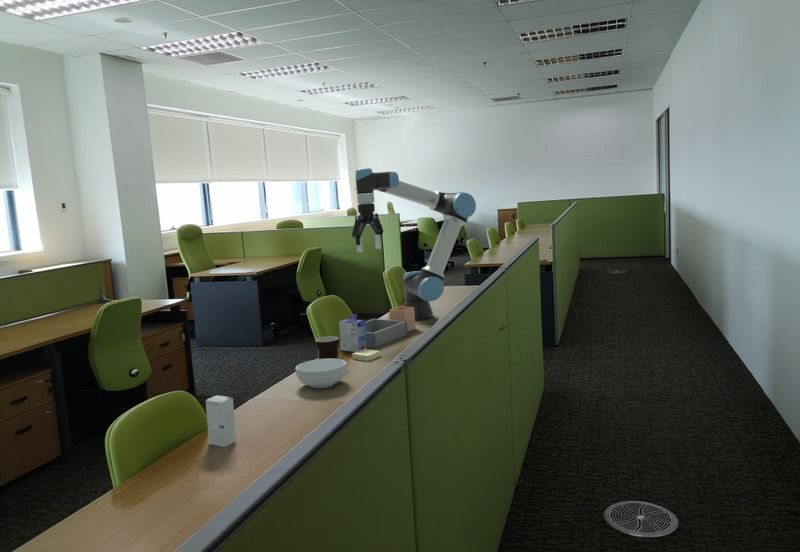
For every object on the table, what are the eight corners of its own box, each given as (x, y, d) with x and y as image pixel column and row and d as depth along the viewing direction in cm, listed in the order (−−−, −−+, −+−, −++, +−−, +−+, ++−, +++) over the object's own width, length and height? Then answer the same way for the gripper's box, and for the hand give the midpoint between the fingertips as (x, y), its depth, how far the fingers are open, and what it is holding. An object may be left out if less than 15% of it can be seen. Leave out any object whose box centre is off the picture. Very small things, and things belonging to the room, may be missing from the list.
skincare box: (208, 444, 163) (203, 400, 161) (220, 438, 166) (216, 394, 165) (225, 447, 160) (220, 402, 158) (238, 441, 163) (233, 397, 162)
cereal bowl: (354, 377, 213) (353, 357, 212) (337, 393, 198) (335, 372, 197) (309, 376, 218) (307, 357, 217) (288, 392, 202) (286, 371, 201)
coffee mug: (336, 368, 226) (334, 341, 225) (314, 368, 228) (311, 342, 227) (345, 359, 237) (343, 334, 236) (324, 359, 239) (322, 334, 238)
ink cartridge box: (367, 349, 251) (365, 314, 249) (359, 353, 246) (356, 317, 244) (349, 347, 256) (346, 313, 254) (340, 350, 252) (337, 315, 250)
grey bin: (374, 331, 282) (373, 318, 281) (407, 334, 272) (406, 321, 271) (340, 344, 263) (339, 330, 262) (374, 347, 252) (373, 333, 252)
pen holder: (401, 327, 287) (399, 306, 286) (415, 328, 282) (414, 307, 281) (391, 331, 281) (389, 309, 279) (405, 332, 276) (404, 310, 275)
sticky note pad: (365, 355, 244) (364, 349, 243) (380, 357, 239) (380, 350, 239) (352, 360, 238) (352, 353, 238) (367, 362, 233) (367, 355, 233)
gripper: (376, 202, 290) (379, 247, 293) (341, 205, 270) (345, 253, 273) (388, 201, 286) (392, 247, 289) (355, 204, 266) (358, 253, 269)
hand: (369, 250), depth 281 cm, fingers open, 13 cm apart
